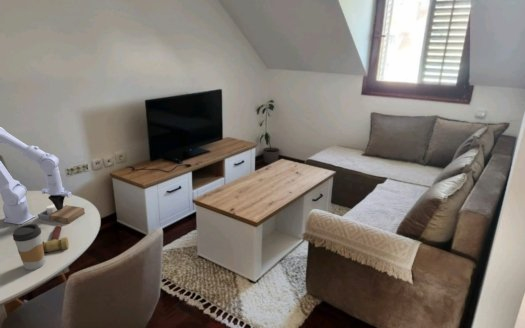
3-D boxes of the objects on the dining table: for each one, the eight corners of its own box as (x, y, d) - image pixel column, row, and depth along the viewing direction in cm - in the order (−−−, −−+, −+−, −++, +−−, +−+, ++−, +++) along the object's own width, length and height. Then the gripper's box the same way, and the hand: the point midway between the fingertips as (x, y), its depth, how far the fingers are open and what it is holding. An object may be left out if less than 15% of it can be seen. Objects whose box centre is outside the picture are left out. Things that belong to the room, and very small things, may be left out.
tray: (38, 218, 158) (37, 214, 157) (56, 208, 167) (55, 204, 166) (49, 220, 156) (48, 216, 155) (66, 210, 165) (65, 206, 164)
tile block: (53, 216, 159) (47, 215, 160) (60, 212, 163) (55, 211, 164) (51, 208, 158) (46, 207, 159) (58, 204, 161) (53, 203, 162)
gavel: (44, 223, 149) (70, 218, 152) (46, 232, 150) (72, 227, 154) (36, 245, 130) (65, 240, 134) (38, 256, 132) (68, 250, 135)
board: (50, 220, 156) (48, 215, 155) (67, 210, 165) (66, 205, 164) (68, 223, 154) (67, 218, 153) (84, 213, 163) (83, 207, 162)
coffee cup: (38, 256, 131) (29, 221, 126) (53, 261, 128) (45, 226, 123) (16, 268, 124) (5, 232, 119) (32, 274, 121) (22, 238, 116)
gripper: (74, 180, 156) (79, 207, 161) (48, 176, 160) (53, 203, 164) (62, 186, 150) (67, 214, 154) (35, 182, 153) (41, 209, 158)
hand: (59, 209), depth 159 cm, fingers closed
